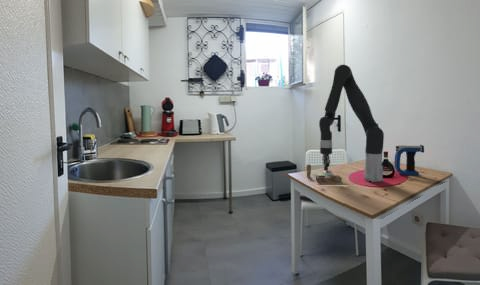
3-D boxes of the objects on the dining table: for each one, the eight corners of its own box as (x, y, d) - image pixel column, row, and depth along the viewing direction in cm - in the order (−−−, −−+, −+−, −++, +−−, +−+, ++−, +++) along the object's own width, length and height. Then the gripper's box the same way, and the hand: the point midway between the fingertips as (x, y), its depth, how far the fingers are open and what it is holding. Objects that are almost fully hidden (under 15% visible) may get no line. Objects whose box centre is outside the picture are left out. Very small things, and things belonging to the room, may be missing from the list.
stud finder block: (330, 176, 172) (330, 170, 171) (333, 179, 165) (333, 172, 164) (322, 176, 173) (322, 170, 172) (324, 179, 166) (324, 172, 165)
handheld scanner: (423, 175, 172) (425, 145, 170) (395, 175, 175) (397, 145, 173) (419, 174, 176) (421, 144, 174) (393, 173, 180) (394, 144, 177)
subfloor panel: (332, 175, 179) (332, 173, 179) (341, 184, 159) (341, 182, 158) (311, 175, 181) (311, 173, 180) (317, 184, 160) (317, 182, 160)
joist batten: (339, 180, 163) (339, 175, 163) (341, 182, 158) (341, 177, 158) (315, 180, 165) (315, 175, 164) (317, 182, 160) (317, 177, 159)
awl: (310, 177, 174) (310, 164, 173) (311, 178, 172) (311, 165, 170) (306, 177, 174) (306, 164, 173) (306, 178, 172) (307, 165, 170)
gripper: (334, 148, 168) (334, 174, 170) (329, 144, 181) (329, 169, 183) (322, 148, 168) (322, 174, 171) (318, 145, 181) (318, 169, 184)
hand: (325, 172), depth 177 cm, fingers closed
